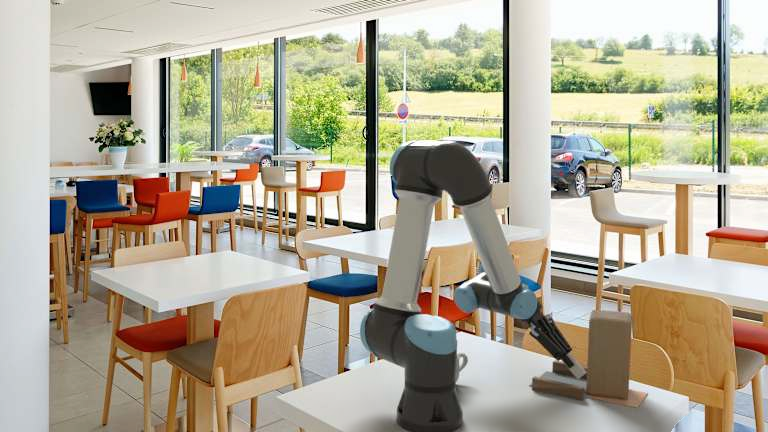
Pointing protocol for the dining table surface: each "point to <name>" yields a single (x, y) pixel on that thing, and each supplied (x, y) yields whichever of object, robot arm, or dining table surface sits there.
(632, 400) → the tile
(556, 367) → the lane rails
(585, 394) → the grey square panel
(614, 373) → the wooden block
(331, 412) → the dining table surface
